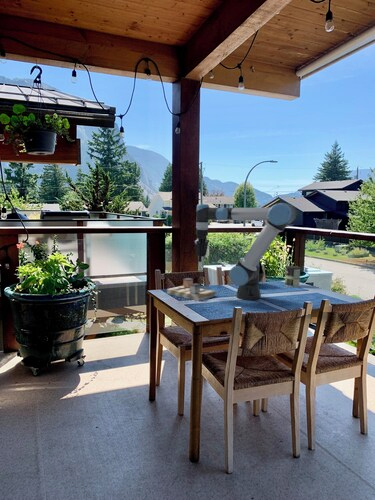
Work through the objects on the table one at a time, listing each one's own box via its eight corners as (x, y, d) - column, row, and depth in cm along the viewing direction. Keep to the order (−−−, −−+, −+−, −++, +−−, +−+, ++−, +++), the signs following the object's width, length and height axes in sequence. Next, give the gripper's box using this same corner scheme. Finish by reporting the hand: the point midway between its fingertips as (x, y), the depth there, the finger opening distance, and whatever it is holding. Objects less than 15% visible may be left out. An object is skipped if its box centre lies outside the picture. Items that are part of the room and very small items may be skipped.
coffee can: (285, 286, 263) (286, 267, 262) (283, 283, 273) (284, 265, 272) (300, 287, 262) (301, 268, 260) (298, 284, 272) (299, 265, 270)
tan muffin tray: (215, 296, 231) (215, 290, 230) (198, 300, 218) (198, 295, 217) (183, 289, 247) (184, 284, 247) (166, 293, 234) (166, 288, 234)
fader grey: (200, 292, 225) (200, 284, 224) (194, 294, 221) (195, 285, 220) (194, 291, 227) (194, 283, 227) (189, 292, 223) (189, 284, 223)
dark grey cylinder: (255, 289, 251) (256, 262, 249) (230, 285, 263) (231, 259, 261) (267, 285, 267) (269, 259, 265) (243, 281, 279) (244, 257, 277)
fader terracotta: (193, 286, 241) (193, 278, 241) (187, 287, 237) (188, 279, 237) (188, 285, 244) (188, 277, 244) (182, 286, 240) (183, 279, 240)
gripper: (203, 228, 234) (202, 264, 236) (190, 229, 223) (189, 267, 226) (212, 229, 229) (211, 266, 232) (200, 229, 219) (199, 268, 222)
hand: (200, 266), depth 229 cm, fingers closed
